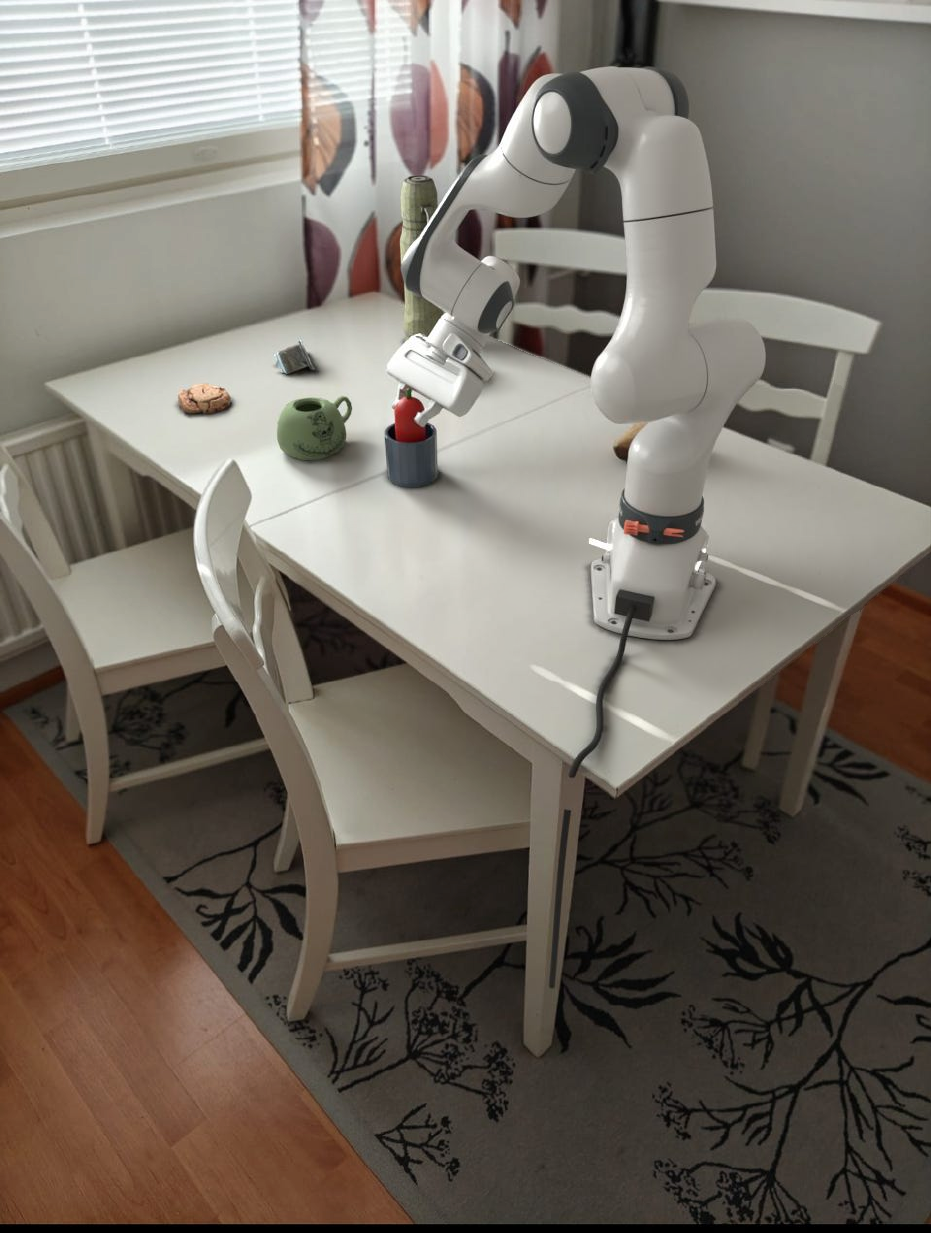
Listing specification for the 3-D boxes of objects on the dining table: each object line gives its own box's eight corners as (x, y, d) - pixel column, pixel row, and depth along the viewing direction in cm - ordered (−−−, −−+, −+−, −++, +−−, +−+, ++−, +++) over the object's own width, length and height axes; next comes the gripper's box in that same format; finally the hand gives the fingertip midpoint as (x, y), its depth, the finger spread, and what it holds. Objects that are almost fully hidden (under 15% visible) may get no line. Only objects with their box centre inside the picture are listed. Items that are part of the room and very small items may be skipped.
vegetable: (645, 469, 172) (634, 411, 170) (606, 473, 182) (596, 418, 180) (712, 450, 179) (703, 395, 177) (671, 455, 189) (662, 402, 187)
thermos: (427, 329, 231) (421, 168, 210) (454, 345, 223) (452, 180, 202) (394, 337, 227) (385, 174, 206) (421, 354, 220) (414, 187, 198)
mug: (305, 471, 179) (300, 427, 173) (264, 447, 186) (258, 404, 181) (374, 442, 187) (371, 399, 182) (332, 420, 195) (328, 378, 189)
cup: (429, 490, 173) (428, 446, 168) (380, 484, 175) (377, 440, 170) (443, 465, 180) (442, 422, 175) (396, 459, 182) (393, 417, 177)
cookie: (226, 414, 197) (223, 400, 195) (172, 414, 197) (169, 400, 195) (236, 393, 205) (234, 379, 203) (185, 392, 205) (182, 379, 203)
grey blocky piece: (273, 356, 220) (263, 335, 208) (303, 344, 221) (294, 322, 209) (290, 394, 219) (281, 375, 208) (320, 382, 220) (312, 362, 208)
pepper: (421, 452, 171) (418, 396, 165) (392, 448, 172) (389, 393, 166) (429, 438, 175) (427, 383, 169) (401, 434, 176) (398, 380, 170)
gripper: (405, 320, 173) (362, 388, 174) (477, 358, 160) (430, 430, 162) (427, 339, 178) (384, 404, 179) (499, 377, 165) (452, 447, 166)
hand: (406, 417), depth 170 cm, fingers closed on pepper, 5 cm apart
